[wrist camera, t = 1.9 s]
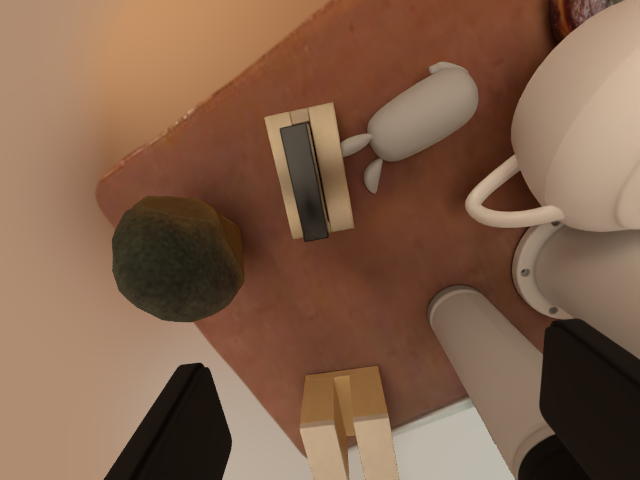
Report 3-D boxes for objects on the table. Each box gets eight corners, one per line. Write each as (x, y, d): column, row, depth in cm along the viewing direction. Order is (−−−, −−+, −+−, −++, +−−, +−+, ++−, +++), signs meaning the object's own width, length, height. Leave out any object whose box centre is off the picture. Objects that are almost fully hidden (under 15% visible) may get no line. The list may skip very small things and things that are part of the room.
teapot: (496, 225, 15) (394, 130, 24) (554, 310, 25) (466, 220, 34) (1453, -461, 7) (769, -227, 16) (990, 60, 17) (724, 27, 25)
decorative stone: (279, 244, 31) (234, 330, 17) (233, 274, 32) (155, 379, 18) (217, 164, 29) (106, 184, 14) (171, 200, 30) (26, 251, 16)
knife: (298, 134, 28) (278, 128, 17) (315, 130, 28) (306, 121, 17) (313, 208, 30) (304, 242, 19) (329, 205, 30) (328, 238, 19)
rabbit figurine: (457, 32, 22) (318, 126, 26) (494, 79, 20) (336, 174, 24) (463, 90, 27) (346, 160, 31) (493, 131, 25) (364, 201, 29)
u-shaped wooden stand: (377, 365, 35) (389, 418, 28) (387, 424, 38) (400, 485, 31) (305, 375, 36) (299, 429, 29) (320, 432, 38) (317, 494, 32)
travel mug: (426, 339, 34) (549, 593, 15) (426, 286, 32) (569, 499, 13) (483, 336, 33) (686, 591, 14) (487, 281, 31) (729, 494, 12)
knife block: (274, 121, 27) (263, 116, 23) (333, 108, 27) (333, 101, 23) (298, 226, 30) (292, 239, 26) (351, 216, 30) (354, 228, 26)
